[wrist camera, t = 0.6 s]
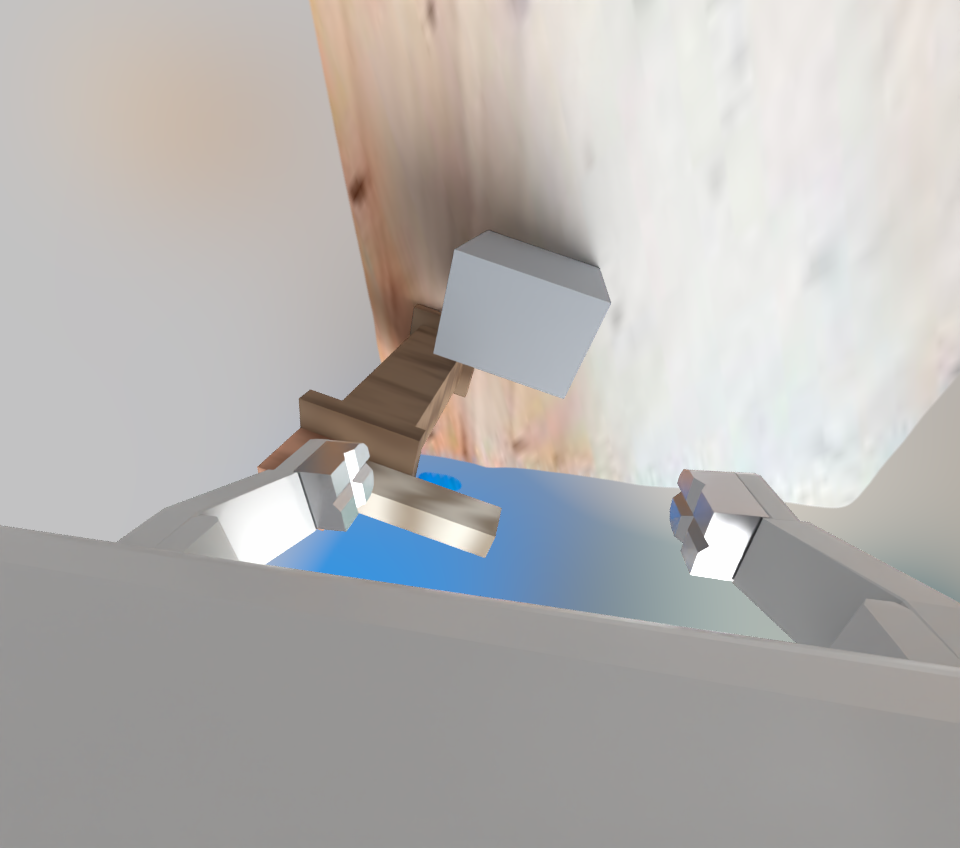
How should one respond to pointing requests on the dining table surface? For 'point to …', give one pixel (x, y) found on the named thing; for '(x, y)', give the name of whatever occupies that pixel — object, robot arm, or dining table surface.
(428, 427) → the shelf stand
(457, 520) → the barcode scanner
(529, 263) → the display block
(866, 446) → the dining table surface
